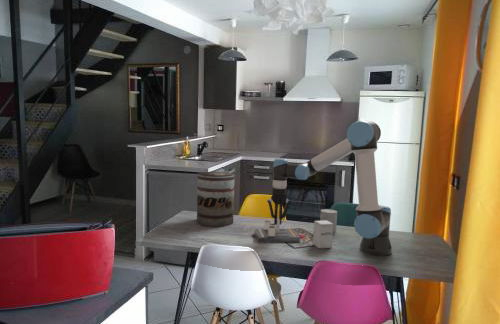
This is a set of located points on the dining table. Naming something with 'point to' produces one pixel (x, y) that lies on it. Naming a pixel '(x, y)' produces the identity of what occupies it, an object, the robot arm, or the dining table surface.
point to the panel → (277, 236)
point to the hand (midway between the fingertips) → (277, 230)
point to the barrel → (215, 199)
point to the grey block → (329, 217)
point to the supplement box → (323, 234)
